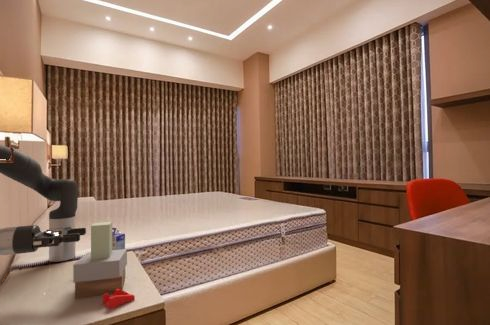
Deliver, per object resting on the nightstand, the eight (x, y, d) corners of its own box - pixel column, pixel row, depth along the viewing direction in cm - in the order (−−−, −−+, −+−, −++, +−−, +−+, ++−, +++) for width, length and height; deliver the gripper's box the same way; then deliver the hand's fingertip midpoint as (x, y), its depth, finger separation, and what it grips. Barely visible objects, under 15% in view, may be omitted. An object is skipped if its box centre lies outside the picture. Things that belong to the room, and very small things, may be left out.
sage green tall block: (94, 254, 84) (94, 222, 84) (112, 252, 85) (112, 221, 86) (90, 259, 79) (90, 225, 79) (109, 257, 80) (109, 224, 81)
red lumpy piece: (110, 310, 68) (110, 299, 68) (103, 305, 71) (102, 293, 72) (134, 300, 73) (134, 290, 73) (126, 296, 76) (126, 285, 76)
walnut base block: (84, 284, 85) (84, 268, 85) (125, 278, 89) (125, 263, 89) (75, 301, 74) (75, 283, 74) (121, 293, 78) (121, 276, 78)
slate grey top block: (87, 268, 86) (87, 252, 86) (127, 263, 89) (126, 248, 89) (73, 282, 74) (73, 264, 75) (119, 277, 77) (119, 260, 78)
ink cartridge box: (126, 265, 101) (125, 227, 102) (116, 270, 96) (116, 230, 96) (103, 264, 103) (103, 226, 103) (92, 269, 98) (92, 229, 98)
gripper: (4, 231, 68) (77, 226, 74) (27, 222, 81) (87, 218, 87) (4, 261, 68) (77, 253, 74) (26, 246, 81) (87, 240, 87)
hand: (82, 234), depth 80 cm, fingers open, 8 cm apart
